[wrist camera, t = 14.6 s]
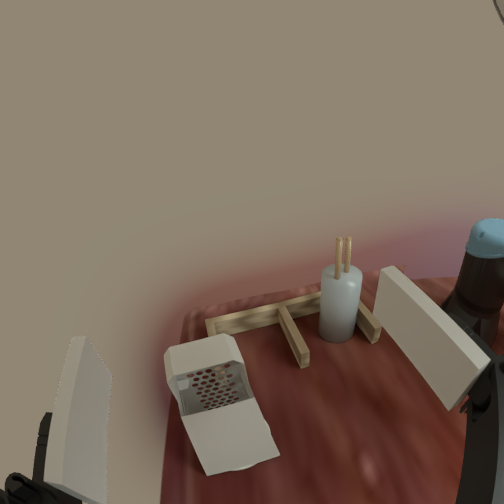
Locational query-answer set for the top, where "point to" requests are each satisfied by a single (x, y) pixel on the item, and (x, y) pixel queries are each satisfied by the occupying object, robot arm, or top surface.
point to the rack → (286, 323)
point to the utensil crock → (339, 296)
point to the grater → (225, 417)
